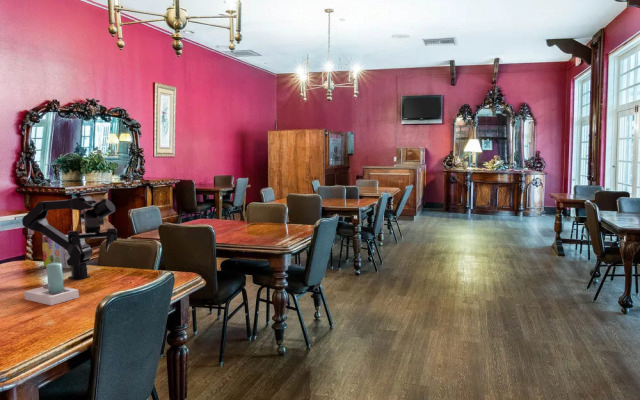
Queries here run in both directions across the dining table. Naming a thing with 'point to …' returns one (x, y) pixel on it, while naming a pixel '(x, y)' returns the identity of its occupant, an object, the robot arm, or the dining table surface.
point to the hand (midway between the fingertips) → (94, 252)
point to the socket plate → (45, 298)
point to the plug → (55, 278)
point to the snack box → (55, 252)
